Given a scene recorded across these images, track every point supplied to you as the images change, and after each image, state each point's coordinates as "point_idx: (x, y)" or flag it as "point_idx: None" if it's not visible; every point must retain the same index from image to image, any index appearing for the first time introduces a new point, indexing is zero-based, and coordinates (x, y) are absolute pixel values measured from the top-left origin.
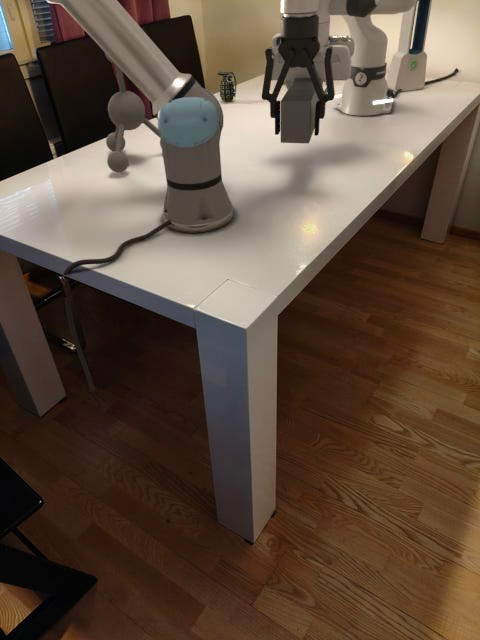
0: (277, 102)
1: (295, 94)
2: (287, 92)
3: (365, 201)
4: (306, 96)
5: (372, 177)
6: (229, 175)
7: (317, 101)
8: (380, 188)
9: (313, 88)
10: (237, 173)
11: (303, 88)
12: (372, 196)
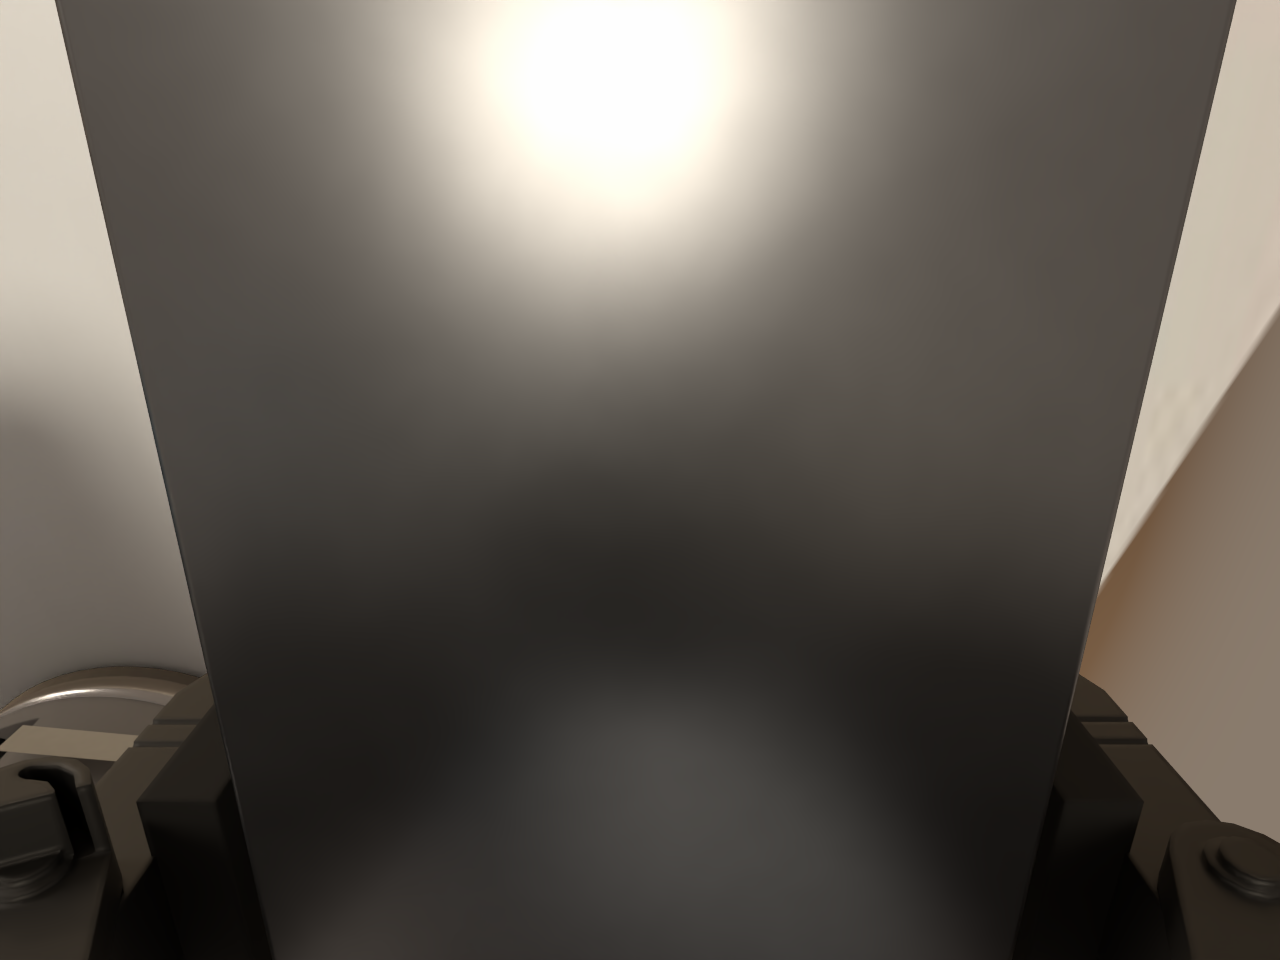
0: (207, 925)
1: (539, 848)
2: (245, 668)
3: (1113, 533)
4: None
5: (1262, 78)
6: (28, 177)
7: (1069, 835)
8: (1267, 310)
9: (1096, 117)
10: (74, 119)
11: (687, 112)
12: (1175, 454)
